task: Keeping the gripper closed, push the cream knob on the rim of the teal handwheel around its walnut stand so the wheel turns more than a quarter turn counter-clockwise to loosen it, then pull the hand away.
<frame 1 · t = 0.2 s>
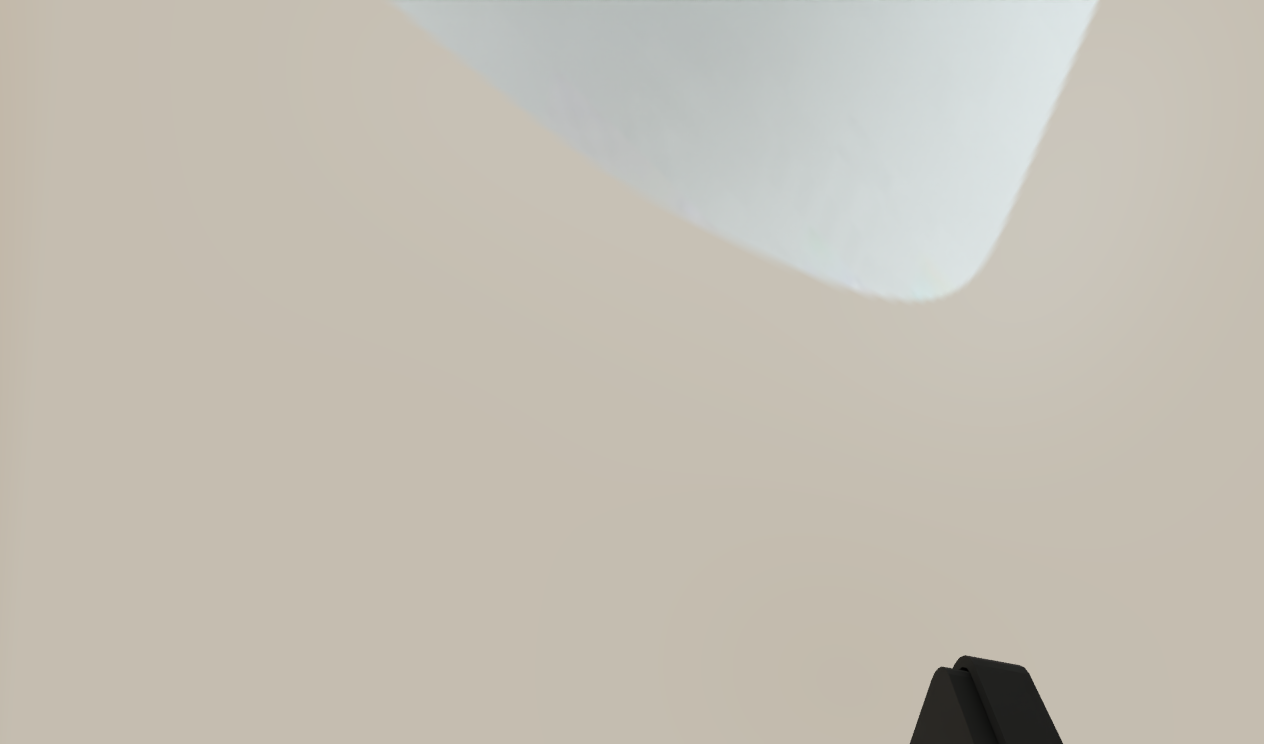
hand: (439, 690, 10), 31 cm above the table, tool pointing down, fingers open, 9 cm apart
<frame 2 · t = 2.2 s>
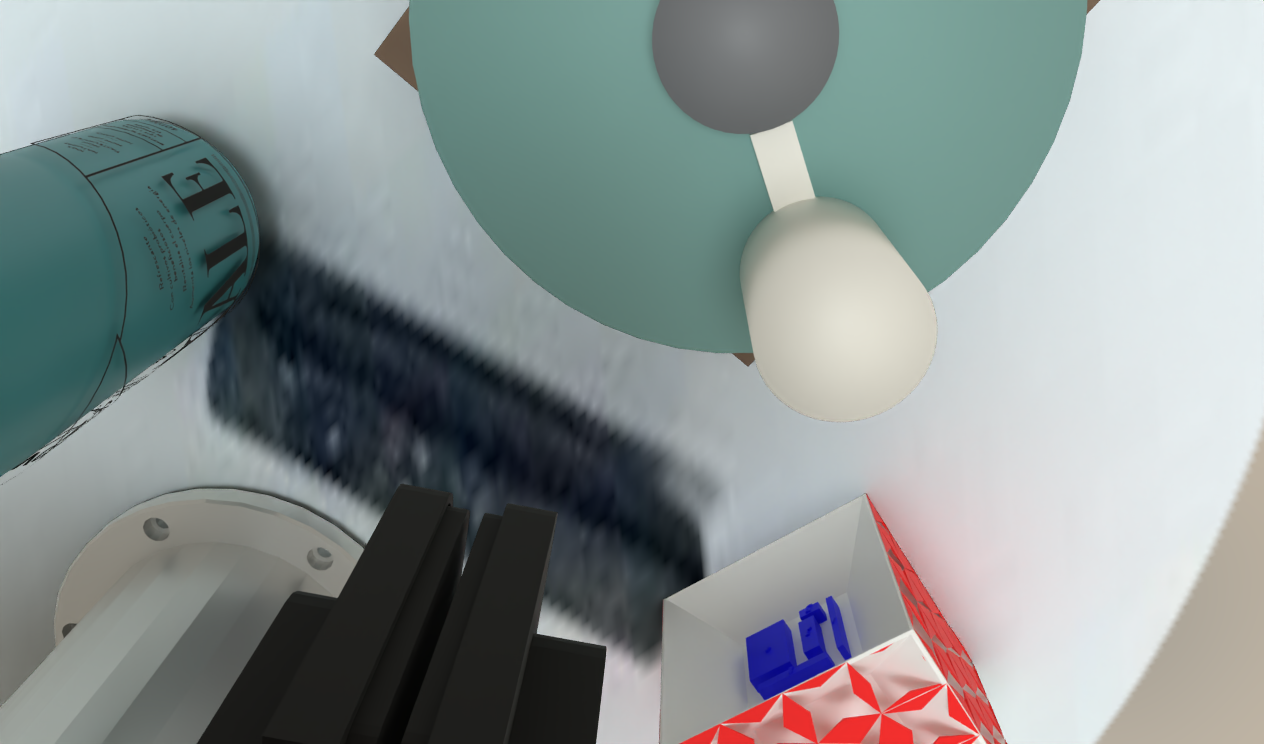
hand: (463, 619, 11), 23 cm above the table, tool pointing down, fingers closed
beverage bottle: (187, 210, 33), on the table
stand: (729, 21, 31), on the table
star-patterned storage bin: (819, 627, 38), on the table
handwheel: (747, 41, 22), point 9 cm above the table, hinge at 0.0°
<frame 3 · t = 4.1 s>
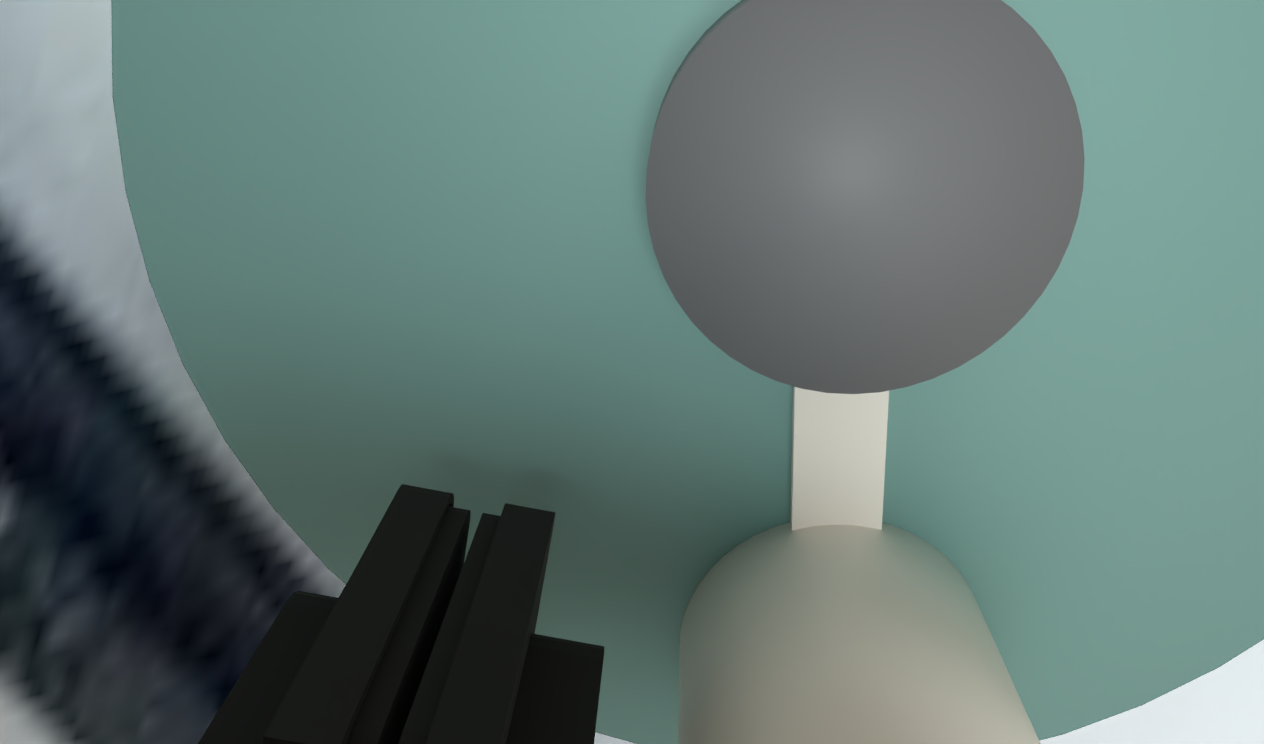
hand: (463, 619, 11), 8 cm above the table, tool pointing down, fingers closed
handwheel: (875, 210, 9), point 9 cm above the table, hinge at 8.5°, touching gripper
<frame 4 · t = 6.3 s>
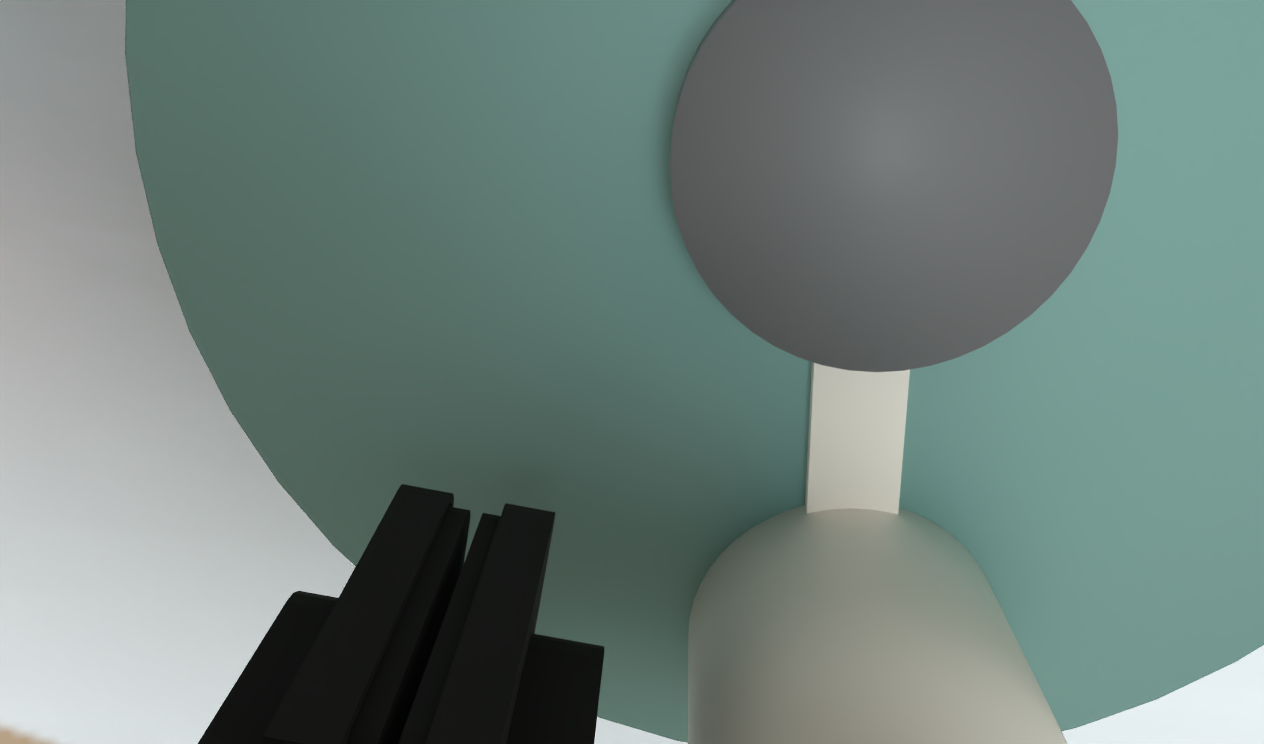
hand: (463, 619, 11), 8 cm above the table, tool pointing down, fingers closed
handwheel: (906, 180, 9), point 9 cm above the table, hinge at 88.2°, touching gripper
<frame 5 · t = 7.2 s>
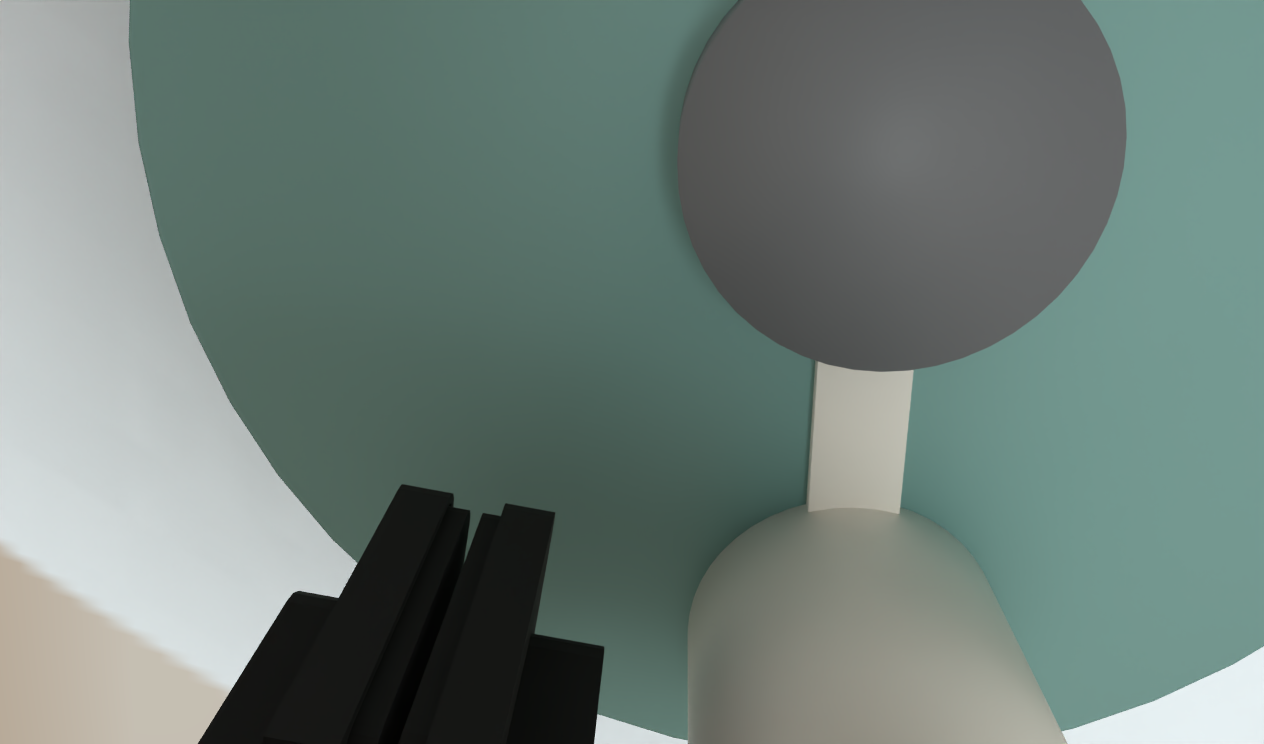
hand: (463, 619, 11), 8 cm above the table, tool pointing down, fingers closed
handwheel: (915, 180, 9), point 9 cm above the table, hinge at 120.0°, touching gripper
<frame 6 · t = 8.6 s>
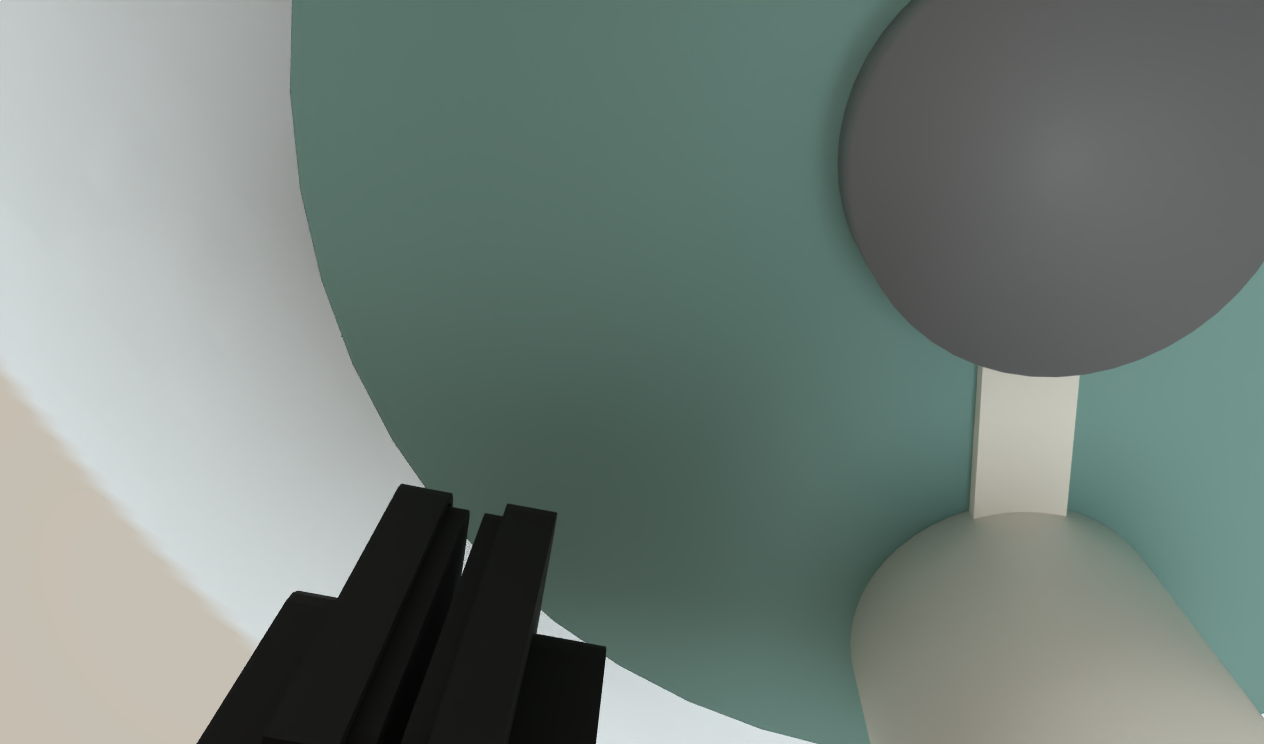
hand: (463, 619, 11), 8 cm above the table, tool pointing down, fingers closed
handwheel: (1106, 186, 9), point 9 cm above the table, hinge at 144.7°
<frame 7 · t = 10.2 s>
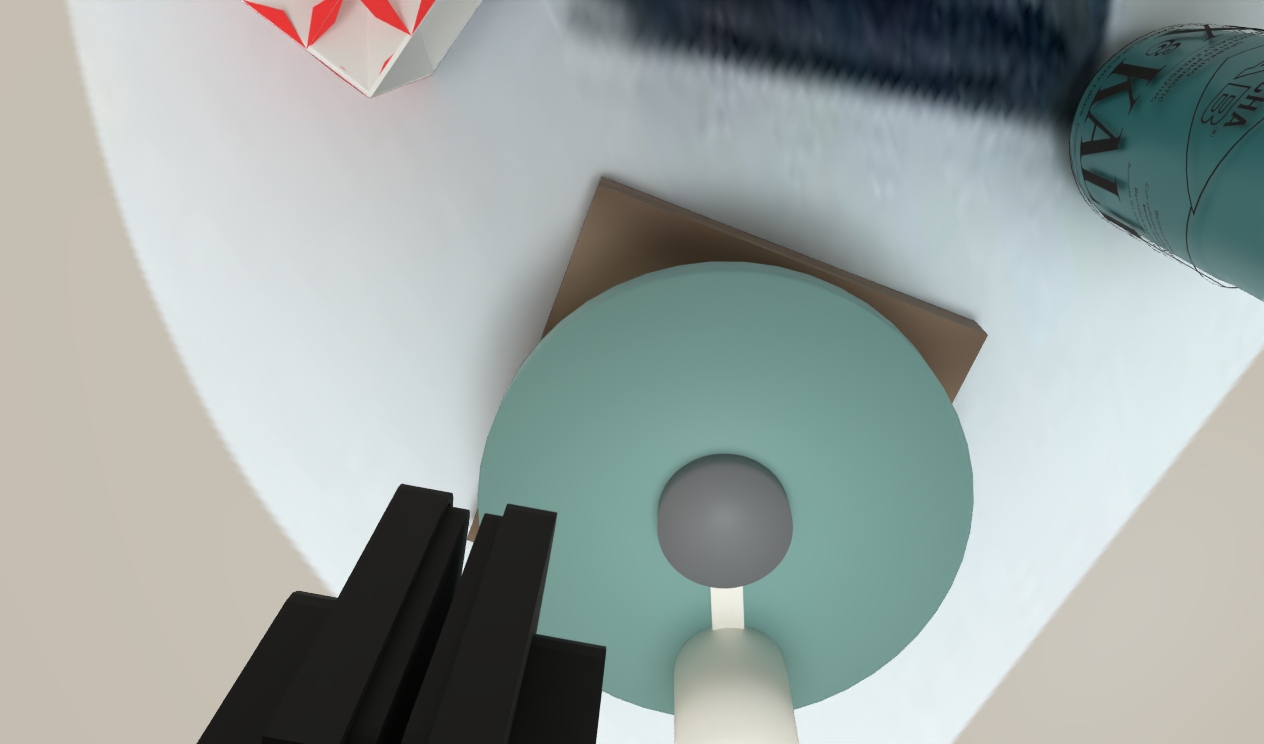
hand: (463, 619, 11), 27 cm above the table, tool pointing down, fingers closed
beverage bottle: (1141, 124, 35), on the table
stand: (714, 425, 39), on the table
handwheel: (726, 541, 31), point 9 cm above the table, hinge at 144.7°
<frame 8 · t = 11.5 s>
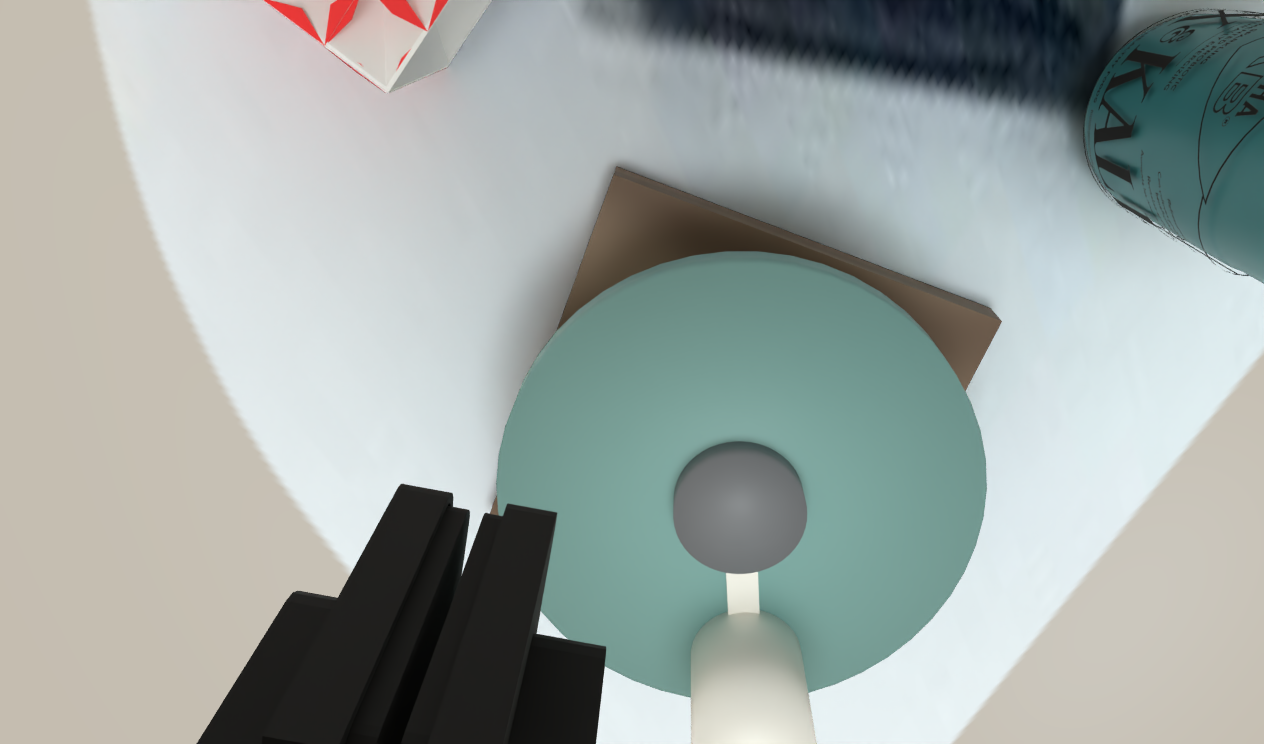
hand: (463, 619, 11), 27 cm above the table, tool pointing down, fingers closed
beverage bottle: (1156, 110, 35), on the table
stand: (729, 411, 40), on the table
handwheel: (741, 528, 32), point 9 cm above the table, hinge at 144.7°
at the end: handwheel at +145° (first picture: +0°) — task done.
